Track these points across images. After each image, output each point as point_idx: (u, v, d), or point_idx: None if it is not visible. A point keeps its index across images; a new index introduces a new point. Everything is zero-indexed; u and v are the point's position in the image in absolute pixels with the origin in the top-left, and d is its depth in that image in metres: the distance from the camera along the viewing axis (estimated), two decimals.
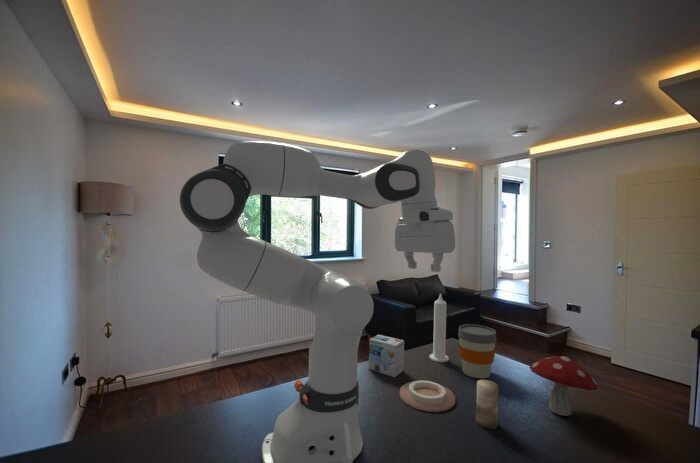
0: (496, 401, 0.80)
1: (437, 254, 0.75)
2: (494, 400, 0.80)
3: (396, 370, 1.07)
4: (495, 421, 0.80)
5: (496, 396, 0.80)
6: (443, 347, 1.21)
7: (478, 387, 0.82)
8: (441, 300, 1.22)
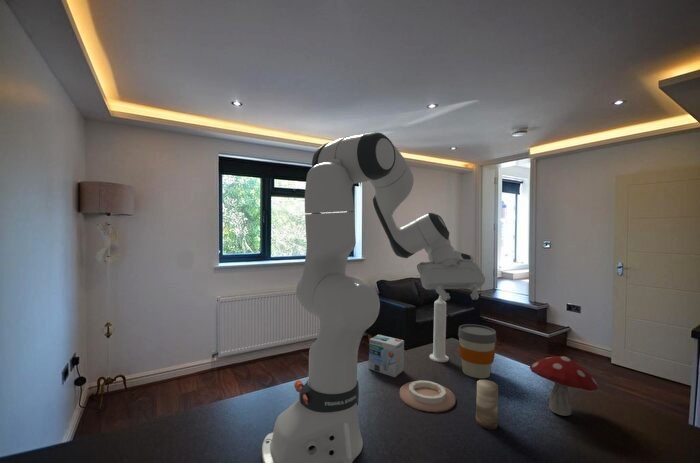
0: (496, 401, 0.80)
1: None
2: (494, 400, 0.80)
3: (396, 370, 1.07)
4: (495, 421, 0.80)
5: (496, 396, 0.80)
6: (443, 347, 1.21)
7: (478, 387, 0.82)
8: (441, 300, 1.22)
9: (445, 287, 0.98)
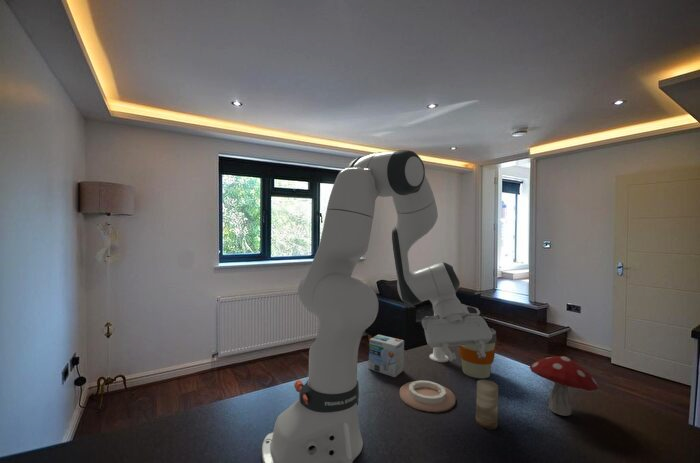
0: (496, 401, 0.80)
1: None
2: (494, 400, 0.80)
3: (396, 370, 1.07)
4: (495, 421, 0.80)
5: (496, 396, 0.80)
6: None
7: (478, 387, 0.82)
8: None
9: (451, 344, 0.94)
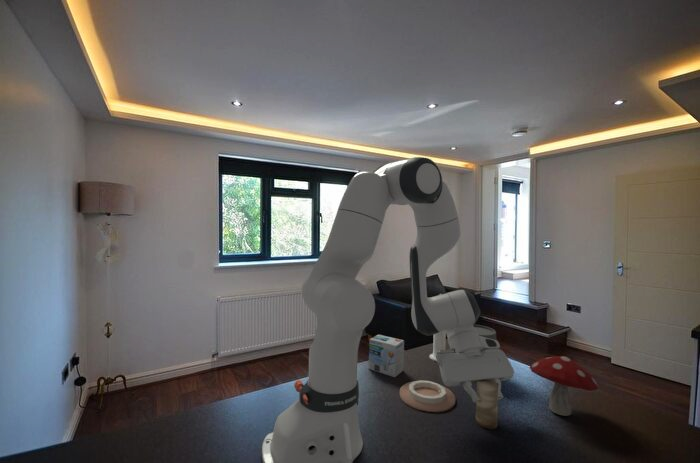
0: (496, 401, 0.80)
1: None
2: (494, 400, 0.80)
3: (396, 370, 1.07)
4: (495, 421, 0.80)
5: (496, 396, 0.80)
6: (443, 347, 1.21)
7: (478, 387, 0.82)
8: None
9: None
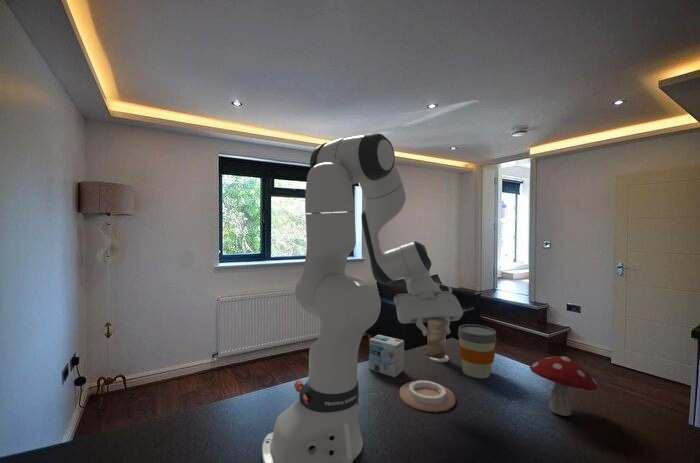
0: (443, 334, 0.91)
1: None
2: (441, 333, 0.90)
3: (396, 370, 1.07)
4: (442, 352, 0.90)
5: (443, 329, 0.91)
6: None
7: (428, 323, 0.92)
8: None
9: None
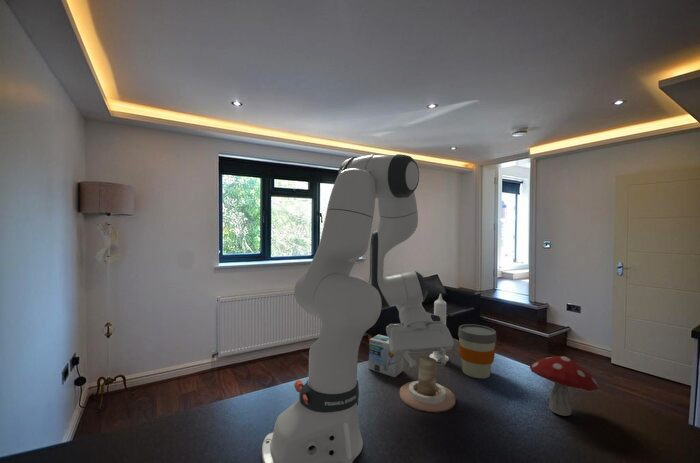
0: (434, 374, 0.93)
1: None
2: (432, 373, 0.92)
3: (396, 370, 1.07)
4: (433, 392, 0.92)
5: (434, 370, 0.93)
6: None
7: (419, 362, 0.94)
8: (441, 300, 1.22)
9: (413, 351, 0.97)
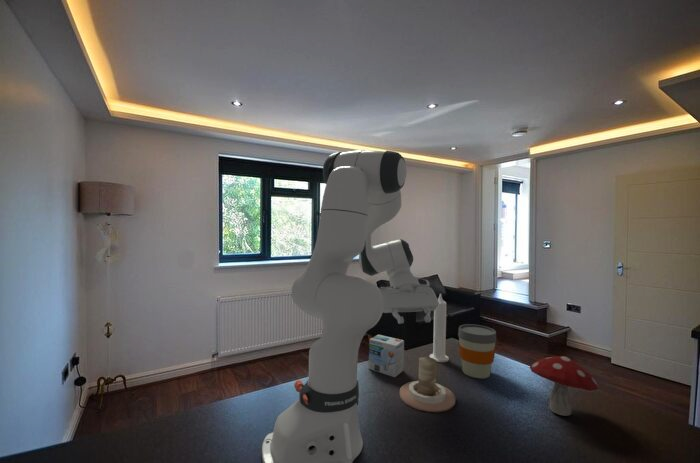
0: (434, 374, 0.93)
1: None
2: (432, 373, 0.92)
3: (396, 370, 1.07)
4: (433, 392, 0.92)
5: (434, 370, 0.93)
6: (443, 347, 1.21)
7: (419, 363, 0.94)
8: (441, 300, 1.22)
9: (401, 310, 1.07)
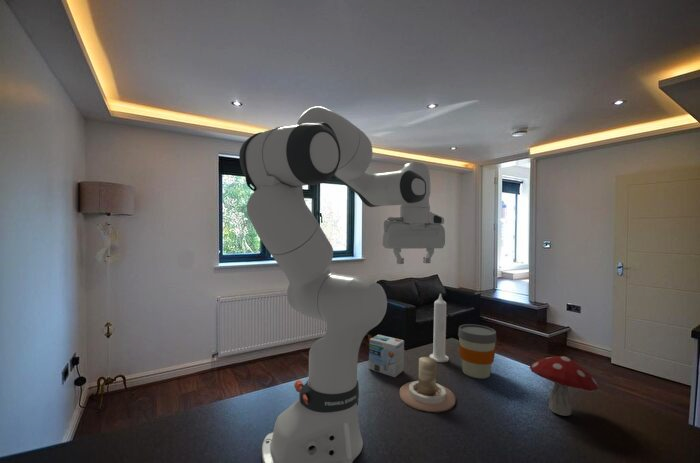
0: (434, 374, 0.93)
1: None
2: (432, 373, 0.92)
3: (396, 370, 1.07)
4: (433, 392, 0.92)
5: (434, 370, 0.93)
6: (443, 347, 1.21)
7: (419, 363, 0.94)
8: (441, 300, 1.22)
9: None
